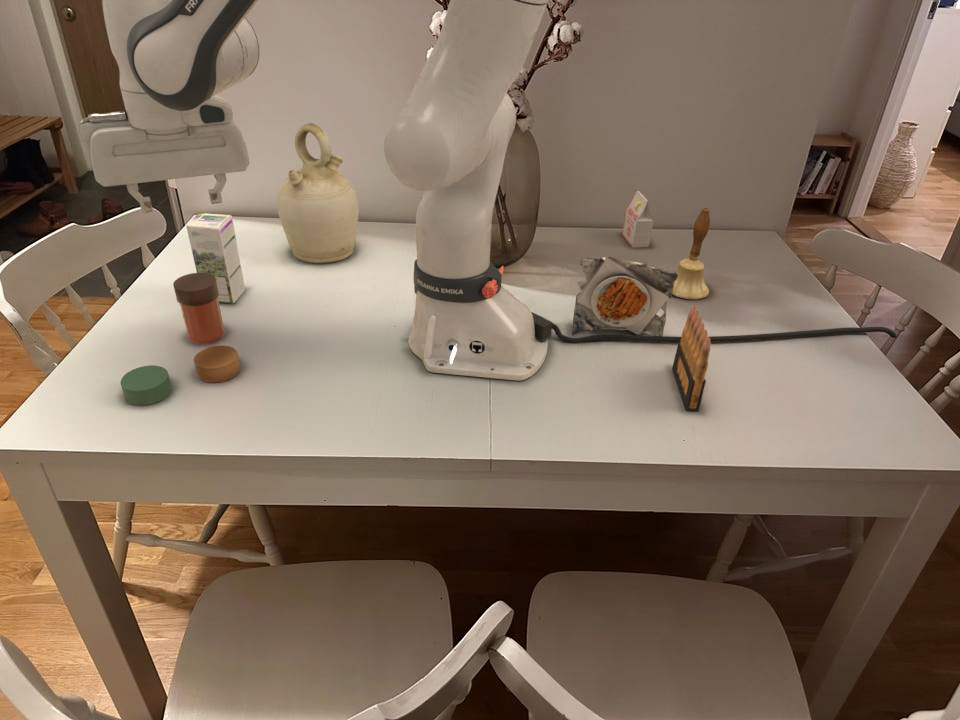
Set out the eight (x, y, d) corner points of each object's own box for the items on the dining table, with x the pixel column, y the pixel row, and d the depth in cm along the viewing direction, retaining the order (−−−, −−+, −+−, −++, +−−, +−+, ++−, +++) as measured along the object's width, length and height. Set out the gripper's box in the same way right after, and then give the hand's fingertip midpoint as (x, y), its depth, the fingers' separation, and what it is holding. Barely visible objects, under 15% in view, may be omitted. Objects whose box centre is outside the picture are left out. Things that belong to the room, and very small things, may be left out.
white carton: (638, 234, 151) (645, 190, 145) (648, 247, 145) (657, 201, 140) (622, 234, 150) (629, 190, 145) (632, 247, 145) (639, 202, 139)
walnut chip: (227, 291, 109) (224, 276, 108) (202, 309, 104) (199, 294, 103) (193, 284, 111) (190, 269, 109) (168, 302, 106) (164, 287, 104)
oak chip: (248, 364, 105) (246, 349, 103) (224, 386, 100) (221, 372, 98) (214, 356, 106) (210, 341, 105) (188, 377, 101) (184, 363, 100)
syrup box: (246, 289, 124) (233, 213, 116) (233, 305, 119) (218, 227, 111) (216, 286, 125) (200, 211, 117) (201, 302, 120) (184, 224, 112)
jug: (334, 229, 148) (323, 109, 134) (376, 253, 138) (369, 127, 124) (269, 247, 139) (250, 121, 125) (310, 275, 130) (294, 141, 116)
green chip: (181, 384, 100) (177, 370, 98) (152, 409, 95) (147, 394, 93) (145, 376, 101) (141, 361, 100) (115, 400, 96) (110, 385, 95)
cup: (231, 329, 113) (224, 291, 109) (210, 346, 108) (201, 307, 105) (203, 323, 114) (194, 285, 110) (181, 339, 110) (171, 301, 106)
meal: (571, 335, 115) (580, 264, 107) (572, 323, 118) (581, 253, 111) (662, 346, 113) (678, 274, 105) (661, 332, 116) (676, 262, 109)
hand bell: (692, 277, 134) (710, 198, 125) (717, 296, 128) (738, 215, 119) (655, 282, 132) (671, 202, 123) (679, 302, 125) (697, 220, 116)
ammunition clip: (671, 368, 107) (687, 301, 101) (683, 369, 107) (699, 301, 101) (685, 410, 99) (703, 340, 92) (698, 411, 99) (717, 340, 92)
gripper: (75, 121, 86) (104, 225, 93) (243, 108, 94) (257, 205, 101) (73, 108, 90) (102, 208, 98) (234, 97, 98) (248, 190, 106)
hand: (182, 206), depth 100 cm, fingers open, 8 cm apart
